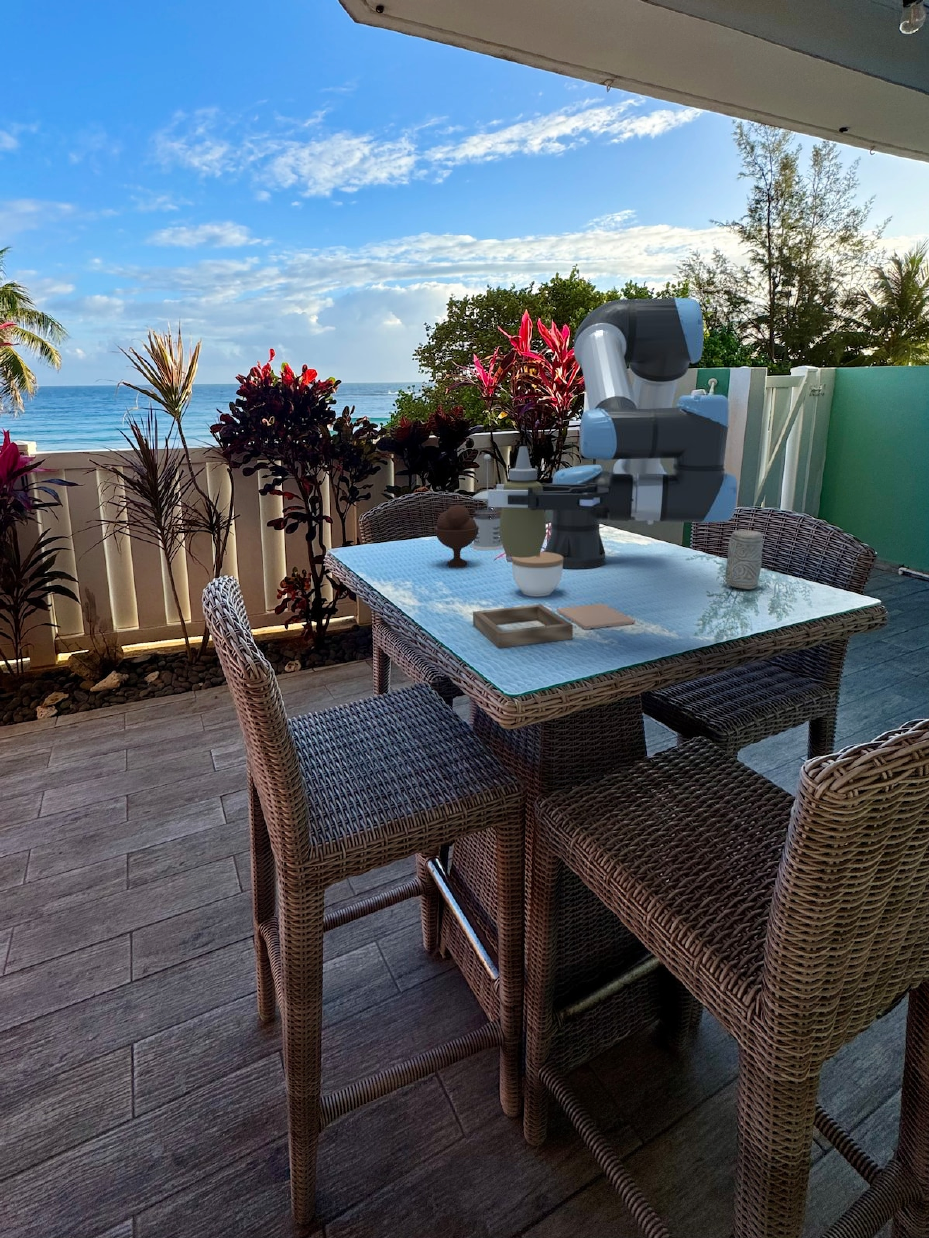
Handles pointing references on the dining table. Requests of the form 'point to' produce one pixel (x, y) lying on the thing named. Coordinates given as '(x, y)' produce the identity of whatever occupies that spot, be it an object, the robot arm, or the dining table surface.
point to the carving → (744, 559)
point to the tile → (595, 616)
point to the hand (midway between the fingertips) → (493, 495)
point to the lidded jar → (538, 573)
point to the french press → (487, 523)
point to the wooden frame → (551, 632)
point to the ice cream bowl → (456, 532)
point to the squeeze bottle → (522, 513)
